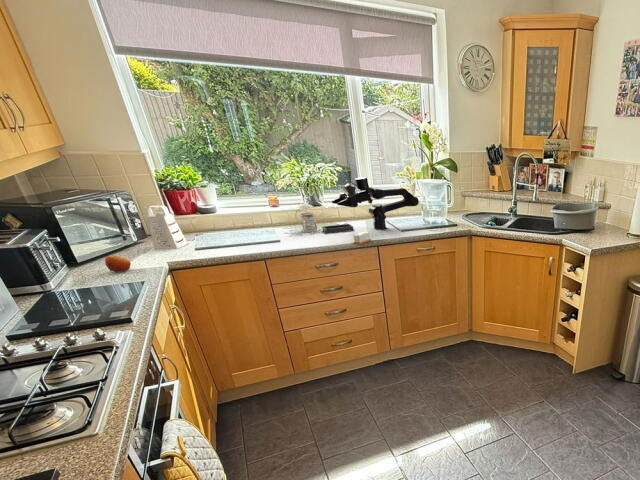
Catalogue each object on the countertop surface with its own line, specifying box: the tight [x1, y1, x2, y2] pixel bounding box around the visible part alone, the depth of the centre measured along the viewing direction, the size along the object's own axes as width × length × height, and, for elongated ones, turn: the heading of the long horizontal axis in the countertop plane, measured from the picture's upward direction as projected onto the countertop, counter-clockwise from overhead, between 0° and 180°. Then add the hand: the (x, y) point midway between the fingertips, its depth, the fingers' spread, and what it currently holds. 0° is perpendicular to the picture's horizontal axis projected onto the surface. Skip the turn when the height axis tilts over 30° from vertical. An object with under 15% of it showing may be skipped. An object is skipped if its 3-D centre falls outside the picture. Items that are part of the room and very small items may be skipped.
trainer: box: [352, 231, 371, 245], centre depth 230 cm, size 9×4×4 cm, turn 160°
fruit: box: [104, 254, 132, 275], centre depth 177 cm, size 8×8×8 cm
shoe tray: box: [321, 223, 354, 234], centre depth 253 cm, size 16×8×2 cm, turn 125°
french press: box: [294, 186, 320, 233], centre depth 246 cm, size 10×12×25 cm
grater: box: [146, 205, 188, 250], centre depth 210 cm, size 10×10×20 cm
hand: (334, 203), depth 237 cm, fingers open, 9 cm apart
